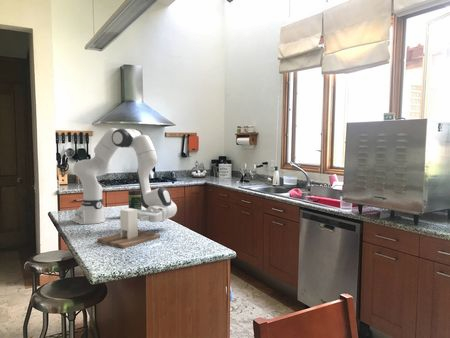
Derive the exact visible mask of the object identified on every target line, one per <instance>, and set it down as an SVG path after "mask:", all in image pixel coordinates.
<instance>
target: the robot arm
mask: <svg viewBox="0 0 450 338" xmlns="http://www.w3.org/2000/svg"><path fill="white" fill-rule="evenodd" d="M119 148H132V149H133V150H134V151H135V155H136V157H137V171H136V172H137V178H138V179H137V180H138V185H139V189H140V191H141V206H142V207H144V208H145V209H146V210H145V209H142V210H137V217H138V220H139V221H140V222H144V221H147V222H151V223H155V222H156V223H158V222H161V223H163V222H165V221H166V220H167V219H170V218H172V217H174V216H175V215H176V213H177V211H178V207H177V205H176V203H175V202H174V201H173V200H172V197H171V194H170V191H169V190H168V189H167V188H166V187H164V186H160V187H157V188H155V189H153V190H152V189H151V185H150V179H149V178H150V174H151V172H152V171H153V169H154V168H156V166H157V163H158V154H157V152H156V148H155V145H154V144H153V141H152V139H151V138H150V136H149V135H147V134H144V133H143V131H141V130H139V129H134V128H115V127H111V128H110V129H108V130H107V131H106V132H105V133H104V135H102V137H101V138H100V140H99V141H98V143H97V144H96V146H95V147H94V148H93V152H94V156H93V157H92V158H89V159H81V160H78V161H77V162H75V163H74V164H73V169H72V170H73V173H74V175H75V176H76V177H77V178H78V179H79V181H80V183H81V185H82V192H83V194H82V195H83V198H82V200H80V202H81V206H80V207H79V208H77V209H76V210H75V213H74V217H72V218H71V219H70V221H71V222H74V223H77V224H78V223H79V225H93V224H95V225H96V224H100V223H104V222H106V220H107V217H106V212H105V207H104V198H103V185H102V184H100V183H99V182H98V178H97V177H101V176H104V175H106V174H108V173H109V172H110V169H111V166H110V161H111V159H112V157H113V155H115V153H116V151H117V150H118V149H119Z"/></svg>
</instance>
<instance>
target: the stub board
mask: <svg viewBox="0 0 450 338" xmlns="http://www.w3.org/2000/svg"><path fill="white" fill-rule="evenodd" d="M124 234H125V237H121V232H118V233H115V234H110V235H106V236H102V237H99V238H96V240H97V241H96V242H97V243H101V244H105V245H108V246H113V247H115V248H116V247H117V248H121V249H127V248H131V247H134V246H136V245H140V244H144V243H147V242H150V241H154V240H157V239H160V238H161V234H160V233H159V234H158V233H154V232H149V231H144V230H140V229H138V236H137V237H133V238H130V239H127V231H125V232H124Z"/></svg>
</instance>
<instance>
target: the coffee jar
mask: <svg viewBox="0 0 450 338" xmlns="http://www.w3.org/2000/svg"><path fill="white" fill-rule="evenodd" d="M127 195H128V196H127V197H128V208H132V209H137V210H143V209H142V203H141V191H140V190H139V189H137V188H130V189H129V190H128V192H127Z"/></svg>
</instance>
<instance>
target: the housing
mask: <svg viewBox="0 0 450 338" xmlns="http://www.w3.org/2000/svg"><path fill="white" fill-rule="evenodd" d="M119 215H120V216H119V217H120V220H119V221H120V223H119V224H120V233H121V237H125V234H124V232H125V231H127V239H130V238H133V237H137V236H138V230H139V229H138V228H139V226H138V224H139V223H138V221H139V219H138V217H137V209H132V208H129V207H128V208H124V209H120V210H119Z"/></svg>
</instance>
